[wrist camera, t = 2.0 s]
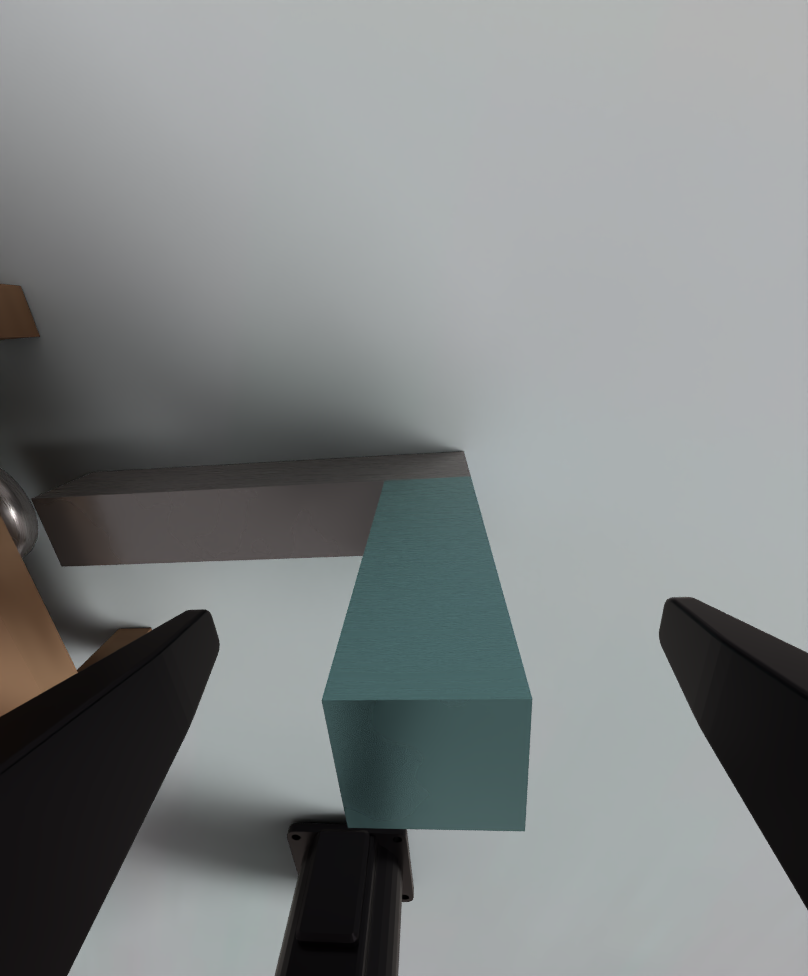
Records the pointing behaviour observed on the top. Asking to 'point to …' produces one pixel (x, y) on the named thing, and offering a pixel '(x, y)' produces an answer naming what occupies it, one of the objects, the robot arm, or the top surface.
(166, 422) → the top surface
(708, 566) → the top surface
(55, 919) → the robot arm
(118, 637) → the stand
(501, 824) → the teal angled piece
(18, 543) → the disc
